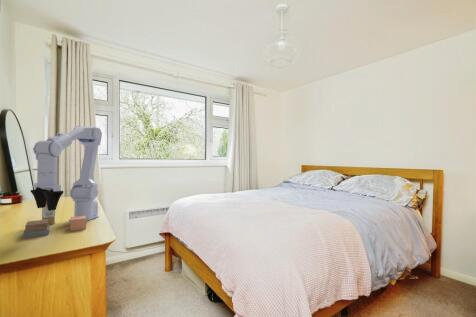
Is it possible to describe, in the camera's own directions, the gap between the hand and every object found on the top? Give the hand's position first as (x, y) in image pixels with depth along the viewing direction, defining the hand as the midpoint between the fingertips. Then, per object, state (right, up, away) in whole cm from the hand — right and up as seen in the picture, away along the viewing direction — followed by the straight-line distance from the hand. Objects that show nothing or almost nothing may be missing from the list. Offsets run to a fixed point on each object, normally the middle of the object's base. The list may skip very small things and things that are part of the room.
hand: (46, 208), depth 85 cm
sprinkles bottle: (-10, -10, +13) cm, 19 cm away
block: (+6, -10, +8) cm, 14 cm away
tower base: (-4, -10, 0) cm, 11 cm away
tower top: (-4, -8, 0) cm, 9 cm away
